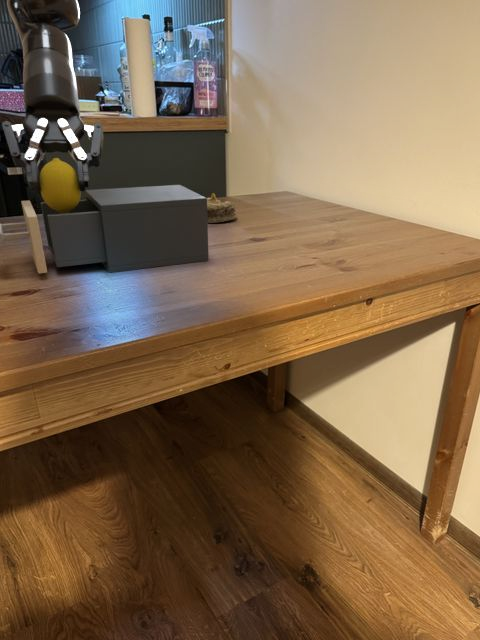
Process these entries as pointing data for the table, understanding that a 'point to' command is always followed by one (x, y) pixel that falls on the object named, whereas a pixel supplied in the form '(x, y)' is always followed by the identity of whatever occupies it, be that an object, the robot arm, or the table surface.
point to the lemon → (59, 186)
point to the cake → (219, 210)
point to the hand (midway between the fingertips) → (59, 187)
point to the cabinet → (151, 226)
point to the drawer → (63, 234)
